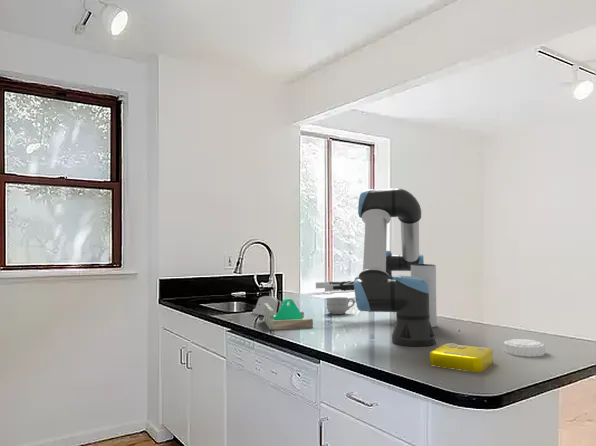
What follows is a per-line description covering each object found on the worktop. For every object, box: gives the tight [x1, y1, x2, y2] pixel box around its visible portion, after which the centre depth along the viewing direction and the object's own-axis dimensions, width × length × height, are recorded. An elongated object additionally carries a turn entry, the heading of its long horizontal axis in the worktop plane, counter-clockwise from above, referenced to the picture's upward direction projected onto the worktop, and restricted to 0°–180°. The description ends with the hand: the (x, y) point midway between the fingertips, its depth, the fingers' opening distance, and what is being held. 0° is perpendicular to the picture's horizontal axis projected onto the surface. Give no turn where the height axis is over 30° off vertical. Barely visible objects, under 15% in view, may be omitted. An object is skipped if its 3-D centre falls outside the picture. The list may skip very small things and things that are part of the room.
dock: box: [263, 303, 314, 331], centre depth 221 cm, size 22×18×8 cm
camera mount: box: [274, 297, 303, 320], centre depth 223 cm, size 12×8×10 cm, turn 108°
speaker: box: [410, 263, 438, 328], centre depth 212 cm, size 11×10×26 cm
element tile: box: [429, 343, 493, 373], centre depth 149 cm, size 15×15×5 cm
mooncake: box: [503, 338, 546, 358], centre depth 162 cm, size 12×12×4 cm
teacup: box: [325, 296, 356, 315], centre depth 249 cm, size 14×11×8 cm
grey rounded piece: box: [251, 295, 282, 316], centre depth 251 cm, size 17×5×10 cm, turn 40°
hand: (320, 286), depth 227 cm, fingers open, 13 cm apart
